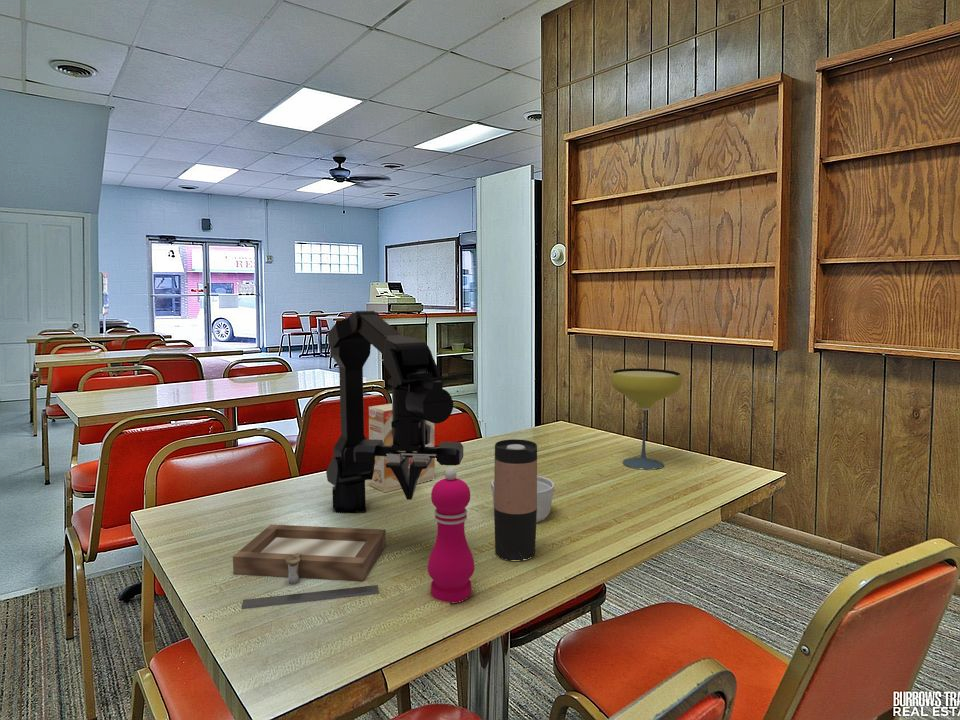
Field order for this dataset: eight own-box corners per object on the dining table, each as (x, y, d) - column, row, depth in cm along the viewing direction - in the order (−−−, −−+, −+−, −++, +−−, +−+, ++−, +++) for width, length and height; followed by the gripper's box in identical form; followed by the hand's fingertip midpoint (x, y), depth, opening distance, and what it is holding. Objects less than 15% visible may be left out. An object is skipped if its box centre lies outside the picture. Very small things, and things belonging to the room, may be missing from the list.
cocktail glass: (689, 463, 168) (693, 372, 165) (659, 478, 155) (663, 379, 152) (629, 451, 180) (631, 366, 177) (596, 465, 166) (598, 373, 164)
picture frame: (385, 545, 113) (385, 525, 113) (358, 588, 97) (357, 565, 97) (271, 539, 116) (270, 520, 115) (225, 581, 100) (224, 558, 99)
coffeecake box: (384, 493, 144) (383, 410, 141) (368, 485, 149) (367, 406, 147) (436, 480, 153) (435, 402, 151) (419, 473, 159) (418, 398, 156)
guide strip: (377, 589, 98) (377, 584, 98) (378, 595, 96) (378, 590, 96) (243, 604, 93) (243, 599, 93) (241, 611, 91) (241, 606, 91)
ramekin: (559, 508, 134) (560, 476, 133) (545, 530, 122) (546, 496, 121) (501, 501, 139) (501, 470, 138) (482, 522, 126) (482, 489, 125)
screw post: (299, 581, 100) (298, 560, 100) (298, 585, 99) (298, 565, 98) (289, 582, 100) (288, 561, 100) (288, 587, 98) (287, 566, 98)
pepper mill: (447, 578, 101) (446, 459, 99) (483, 591, 97) (483, 467, 95) (418, 596, 95) (416, 470, 93) (455, 610, 91) (455, 479, 89)
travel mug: (491, 545, 115) (492, 439, 112) (532, 543, 115) (533, 438, 113) (496, 563, 107) (496, 450, 105) (539, 561, 108) (541, 449, 105)
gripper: (467, 405, 115) (467, 486, 117) (370, 403, 118) (371, 482, 119) (458, 418, 104) (458, 507, 106) (351, 415, 107) (353, 502, 108)
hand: (409, 498), depth 110 cm, fingers closed
